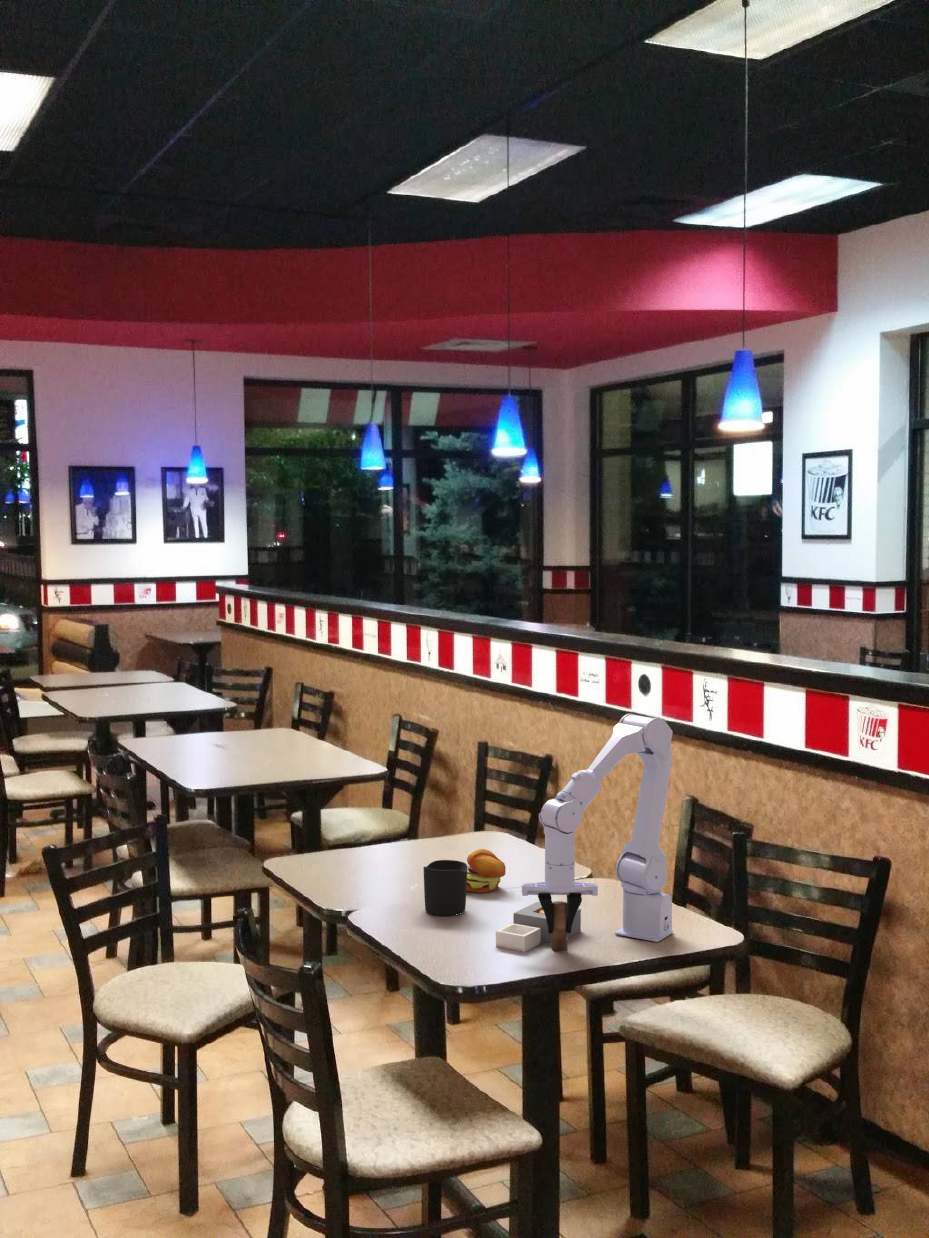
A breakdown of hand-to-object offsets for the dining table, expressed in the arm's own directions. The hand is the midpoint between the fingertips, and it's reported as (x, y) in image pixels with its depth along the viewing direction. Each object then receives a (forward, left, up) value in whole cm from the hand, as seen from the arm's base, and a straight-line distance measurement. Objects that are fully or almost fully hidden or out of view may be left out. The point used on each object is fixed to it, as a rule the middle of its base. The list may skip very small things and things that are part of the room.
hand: (559, 931), depth 236 cm
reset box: (+7, -8, -3) cm, 11 cm away
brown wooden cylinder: (0, 0, -3) cm, 3 cm away
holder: (+8, +2, -3) cm, 9 cm away
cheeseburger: (+36, -30, -4) cm, 47 cm away
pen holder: (+33, -10, -4) cm, 35 cm away
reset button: (+7, -8, -1) cm, 11 cm away
